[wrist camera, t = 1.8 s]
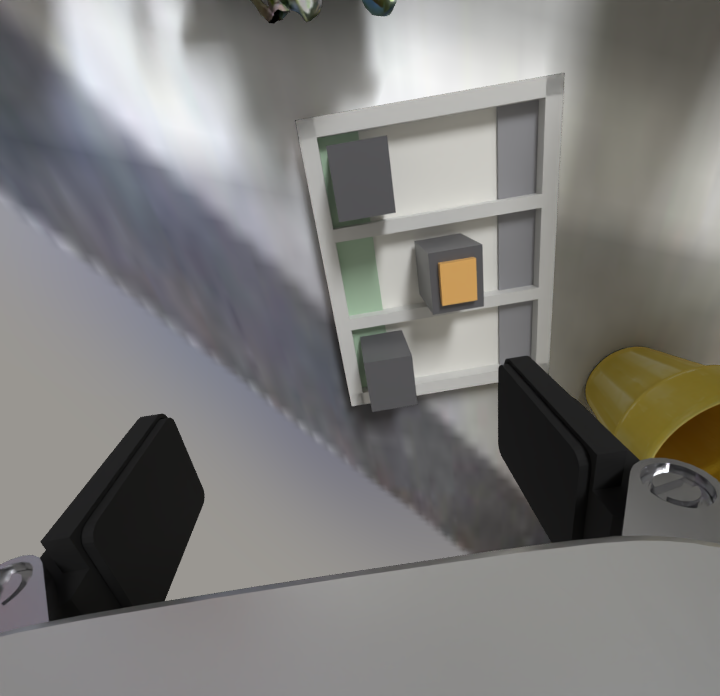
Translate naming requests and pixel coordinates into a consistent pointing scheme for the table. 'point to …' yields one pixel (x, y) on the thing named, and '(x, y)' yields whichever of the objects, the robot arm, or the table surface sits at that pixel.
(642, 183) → the table surface
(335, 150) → the block
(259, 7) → the passion flower
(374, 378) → the block
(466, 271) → the block
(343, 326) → the panel
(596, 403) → the plant pot
